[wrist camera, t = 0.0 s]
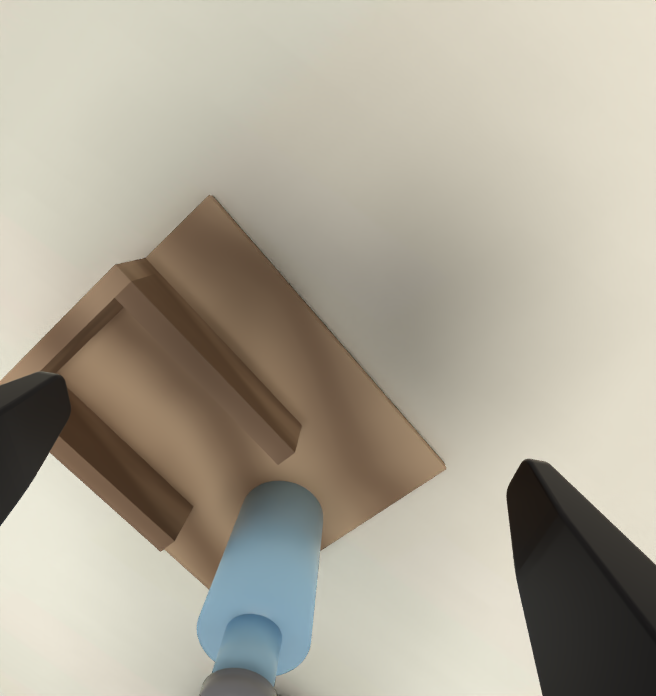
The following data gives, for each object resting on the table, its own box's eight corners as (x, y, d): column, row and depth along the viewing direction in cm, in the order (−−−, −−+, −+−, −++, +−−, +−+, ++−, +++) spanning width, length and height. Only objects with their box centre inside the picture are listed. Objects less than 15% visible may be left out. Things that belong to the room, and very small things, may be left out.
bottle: (279, 562, 28) (232, 780, 17) (224, 509, 27) (138, 706, 16) (340, 522, 27) (330, 730, 16) (285, 465, 26) (235, 646, 15)
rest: (233, 601, 30) (217, 651, 27) (8, 398, 26) (-45, 425, 23) (444, 463, 26) (458, 501, 22) (212, 195, 22) (186, 192, 18)
